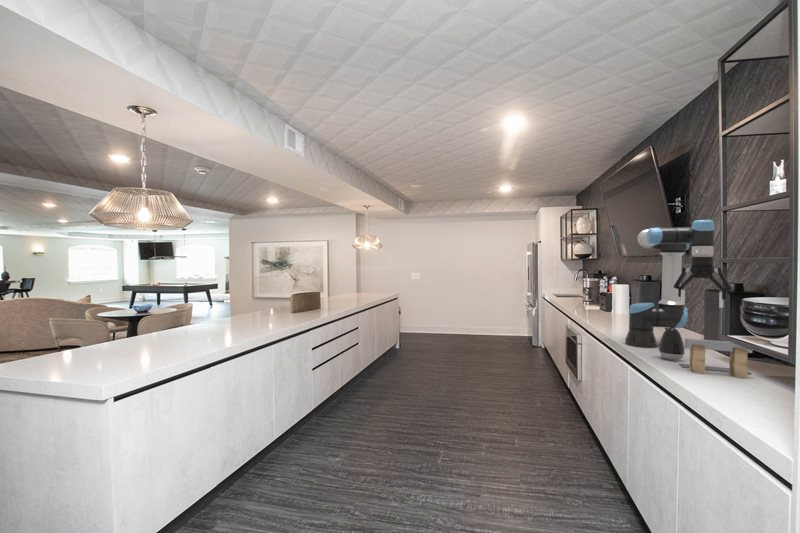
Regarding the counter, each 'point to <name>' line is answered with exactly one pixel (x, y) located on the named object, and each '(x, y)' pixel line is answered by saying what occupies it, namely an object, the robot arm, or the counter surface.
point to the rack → (736, 361)
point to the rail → (713, 345)
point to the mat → (711, 368)
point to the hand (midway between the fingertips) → (701, 306)
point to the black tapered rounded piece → (671, 345)
